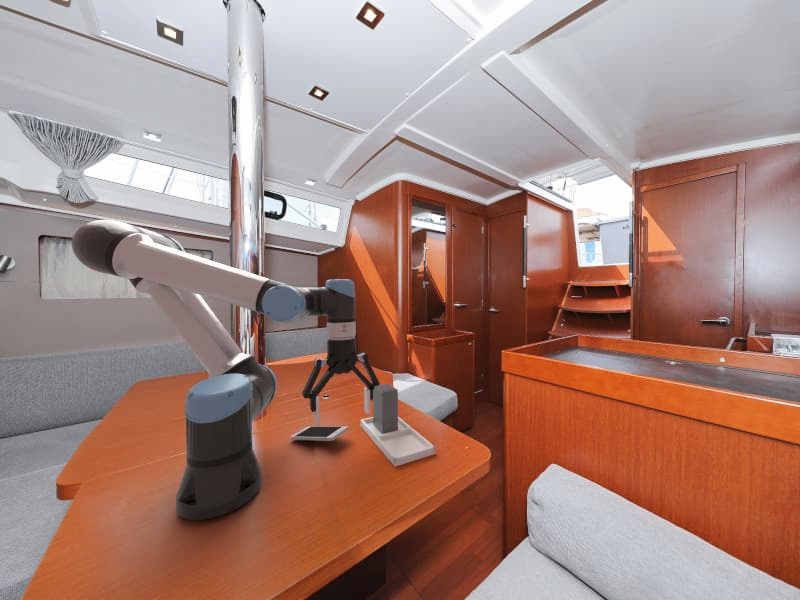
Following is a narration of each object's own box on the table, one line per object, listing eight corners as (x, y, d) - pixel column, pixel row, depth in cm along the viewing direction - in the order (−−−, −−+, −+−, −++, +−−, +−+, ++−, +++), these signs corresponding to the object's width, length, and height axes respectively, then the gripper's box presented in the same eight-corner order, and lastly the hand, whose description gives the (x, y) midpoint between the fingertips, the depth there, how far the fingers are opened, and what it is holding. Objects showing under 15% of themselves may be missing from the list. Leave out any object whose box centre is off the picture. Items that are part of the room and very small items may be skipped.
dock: (394, 466, 66) (394, 412, 66) (360, 425, 88) (359, 384, 88) (435, 453, 72) (435, 403, 71) (393, 417, 93) (393, 379, 93)
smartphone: (332, 441, 72) (331, 437, 73) (289, 439, 79) (289, 436, 79) (349, 429, 79) (348, 425, 79) (308, 429, 86) (308, 425, 86)
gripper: (293, 344, 66) (295, 434, 66) (390, 335, 78) (391, 412, 78) (289, 340, 73) (291, 422, 73) (379, 332, 84) (380, 403, 84)
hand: (343, 417), depth 75 cm, fingers open, 13 cm apart
